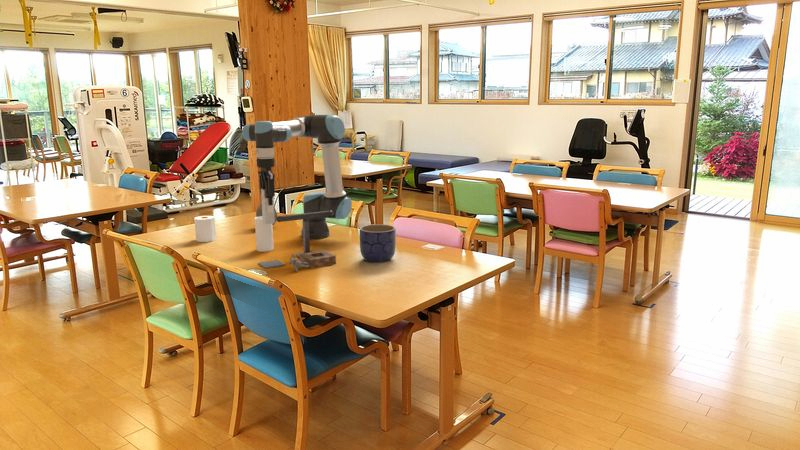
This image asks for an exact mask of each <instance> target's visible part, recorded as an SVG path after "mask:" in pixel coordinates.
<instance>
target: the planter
mask: <svg viewBox="0 0 800 450" xmlns="http://www.w3.org/2000/svg"><path fill="white" fill-rule="evenodd" d="M358 236H359V250H360V255H361V256H362V258H363V259H364V260H366V261H367V262H371V263H386V262H388V261H390V260H392V258H393V257H394V255H395V253H396V249H397V248H396V247H397V241H396V240H397V231H396V227H395V226H394V225H390V224H382V223H380V224H379V223H378V224H377V223H375V224H373V223H372V224H367V225H366V224H365V225H362V226H360V227H359V235H358Z"/></svg>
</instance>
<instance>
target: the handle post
mask: <svg viewBox="0 0 800 450" xmlns="http://www.w3.org/2000/svg"><path fill="white" fill-rule="evenodd" d="M301 221H302V227H303V237H302V243H303V252H297V253H295V257H296V258H299V259H300V254H303V253H309V252H313V251H311V243H310V242H311V241H310V239H311V238H309V221H306V222H305V221H303V220H301Z"/></svg>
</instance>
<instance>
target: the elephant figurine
mask: <svg viewBox="0 0 800 450" xmlns="http://www.w3.org/2000/svg"><path fill="white" fill-rule="evenodd" d="M289 264H290V265H292V266H293V267H294V269H295V273H298V272H299V269H298V268H300V267H301V268H305V269H308V268H310V267H309V266H308V265H307V262H301V261H300V260H298V258H295V254H293V253H291V257H290V261H289Z"/></svg>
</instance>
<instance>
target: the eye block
mask: <svg viewBox="0 0 800 450" xmlns="http://www.w3.org/2000/svg"><path fill="white" fill-rule="evenodd" d="M302 253H303V252H302ZM336 257H337V256H336V255H335V254H332V253H331V252H328V251H327V250H325V249H323V250H316V251H312V252H309V253H303V254H300V258H299V259H300V260H299V261H301V262H307V265H308V266H309V267H308V268H312V269H313V268H317V267H323V266H328V265H329V266H330V265H335V264H336V263H337V260H336V259H337V258H336Z"/></svg>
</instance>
